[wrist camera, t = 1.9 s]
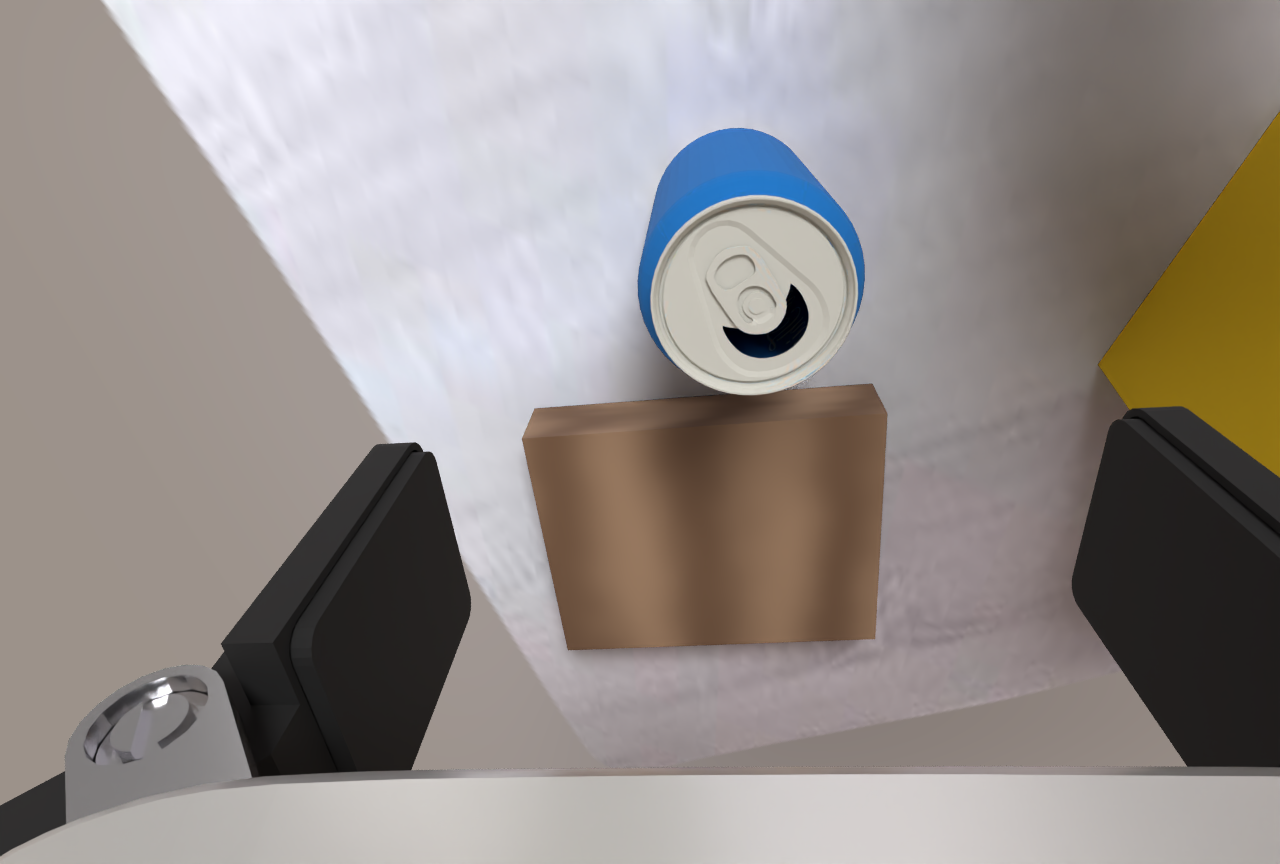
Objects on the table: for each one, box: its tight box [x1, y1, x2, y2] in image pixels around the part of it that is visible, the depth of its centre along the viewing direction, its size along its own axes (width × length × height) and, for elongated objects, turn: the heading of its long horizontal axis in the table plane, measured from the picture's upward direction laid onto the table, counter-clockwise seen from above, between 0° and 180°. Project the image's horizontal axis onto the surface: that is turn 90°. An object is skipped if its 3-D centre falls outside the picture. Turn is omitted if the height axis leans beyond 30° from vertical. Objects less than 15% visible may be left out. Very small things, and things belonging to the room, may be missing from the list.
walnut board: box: [522, 384, 887, 650], centre depth 36 cm, size 16×13×3 cm
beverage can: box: [638, 128, 865, 395], centre depth 25 cm, size 6×6×12 cm
